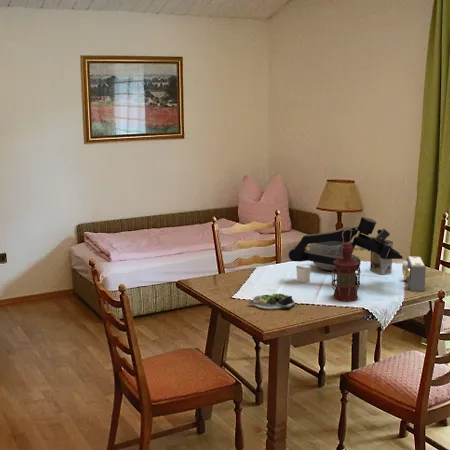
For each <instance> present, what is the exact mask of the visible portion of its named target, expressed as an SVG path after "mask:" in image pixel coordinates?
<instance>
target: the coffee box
mask: <svg viewBox="0 0 450 450" xmlns="http://www.w3.org/2000/svg"><path fill="white" fill-rule="evenodd" d="M385 241H386V242H387V243H388V245H390V246H391V247H392V249H394V247H393V246H394V245H393V244H394V242H393V241H391V240H389V239H387V238H386V239H385ZM384 244H385V243H384ZM392 265H393V259H382V258H380V256H379V255H378V254H376V253H374V252H372V251H370V269H369V270H370V271H371V272H373V273H374V274H375V273H376V274H378V275H381V276H383V274H385V275H391V274H392V268H393V266H392ZM390 273H391V274H390Z"/></svg>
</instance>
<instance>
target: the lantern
mask: <svg viewBox="0 0 450 450" xmlns="http://www.w3.org/2000/svg"><path fill="white" fill-rule="evenodd" d="M346 230H349V229H346ZM346 230H344V231H346ZM350 230H351V229H350ZM344 231H343V233H344ZM343 233H342V237H343ZM351 234H352V230H351ZM351 242H352V240H351V235H350V243H347V242H346V243H344V238H343V244H342V246H341V247H340V252H341V258H339V259H337V260H334V261H333V263H334V264H335V266H334V268H333V269H332V270H331V276H332V277H331V279H332V280H331V286H332V287H331V288H332V289H333V291H334V293H333V297H332V298H333V299H334V300H335V301H339V302H346V303H347V302H355V301H357V300H358V299H359V296H358V290H359V288H360V286H361V280H360V279H361V278H360V277H361V272H362V271H361V267H360V266H359V267H358V265H359V261H357V260H354V259H353V258H351V256H352V255H353V252H354V251H355V248H354V249H353V246H352V243H351ZM350 254H351V255H350ZM342 255H343V256H342ZM335 267H336V268H335ZM357 267H358V268H359V269H357ZM336 269H337V270H336ZM355 270H357V271H355ZM355 272H356V274H355ZM355 275H357V280H355ZM355 281H356V282H357V285H356V286H355ZM334 287H335V288H334ZM355 287H357V288H355Z"/></svg>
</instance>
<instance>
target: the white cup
mask: <svg viewBox="0 0 450 450" xmlns="http://www.w3.org/2000/svg"><path fill="white" fill-rule="evenodd" d="M295 269H296V280H297V282H298V283H303V284H304V283H309V282H310V281H311V279H310V278H311V272H312V270H311V269H312V266H311V265H308V264H298V265H296V267H295Z"/></svg>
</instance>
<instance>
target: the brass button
mask: <svg viewBox="0 0 450 450" xmlns="http://www.w3.org/2000/svg"><path fill="white" fill-rule="evenodd" d="M404 271H405V272H404V275H405V278H406V277H411V268H405V270H404Z"/></svg>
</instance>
